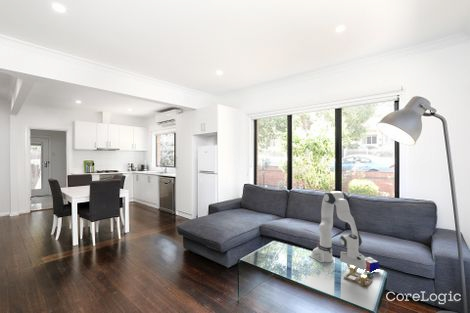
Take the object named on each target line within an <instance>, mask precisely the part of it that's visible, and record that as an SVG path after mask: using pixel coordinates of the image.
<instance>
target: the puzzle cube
mask: <svg viewBox="0 0 470 313" xmlns="http://www.w3.org/2000/svg"><path fill="white" fill-rule="evenodd" d="M365 261H366V270H367V271H369V272H372V271H374V270H376V269H379V268H380V266H379V265H380V262H379V261H378V260H376V259H374V258H373V257H371V256H365Z"/></svg>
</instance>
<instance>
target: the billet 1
mask: <svg viewBox="0 0 470 313" xmlns="http://www.w3.org/2000/svg"><path fill="white" fill-rule="evenodd" d="M355 269H356V267H355V266H352V265H350V267H349V269H348V270H349V272H348V273H349V274H350V275H351V276H353V275H355V274H356V275H357V273H356V272H355Z"/></svg>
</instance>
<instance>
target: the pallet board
mask: <svg viewBox="0 0 470 313" xmlns="http://www.w3.org/2000/svg"><path fill="white" fill-rule="evenodd" d="M350 275H351V274H349V272H347V273H346V274H345V275H344V276H343V279H344V280H347V281H349V282H351V283H353V284H355V285H358V286H360V287H362V288H364V289H368V287H369V286H370V285H371V284H372V283H373V280H372V279H369V278H367V283H366V284H362V283H360V276H361V275H359V274H357V273H356V274H355V275H352V276H354V277H356V278H354V279H353V278H350V277H349V276H350Z"/></svg>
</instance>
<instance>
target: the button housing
mask: <svg viewBox="0 0 470 313" xmlns="http://www.w3.org/2000/svg"><path fill="white" fill-rule="evenodd" d="M365 275H367V279H369V280H372V279H373V278H374V273H371V275H368V274H367V272H366V273H365ZM372 277H373V278H372Z"/></svg>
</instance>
